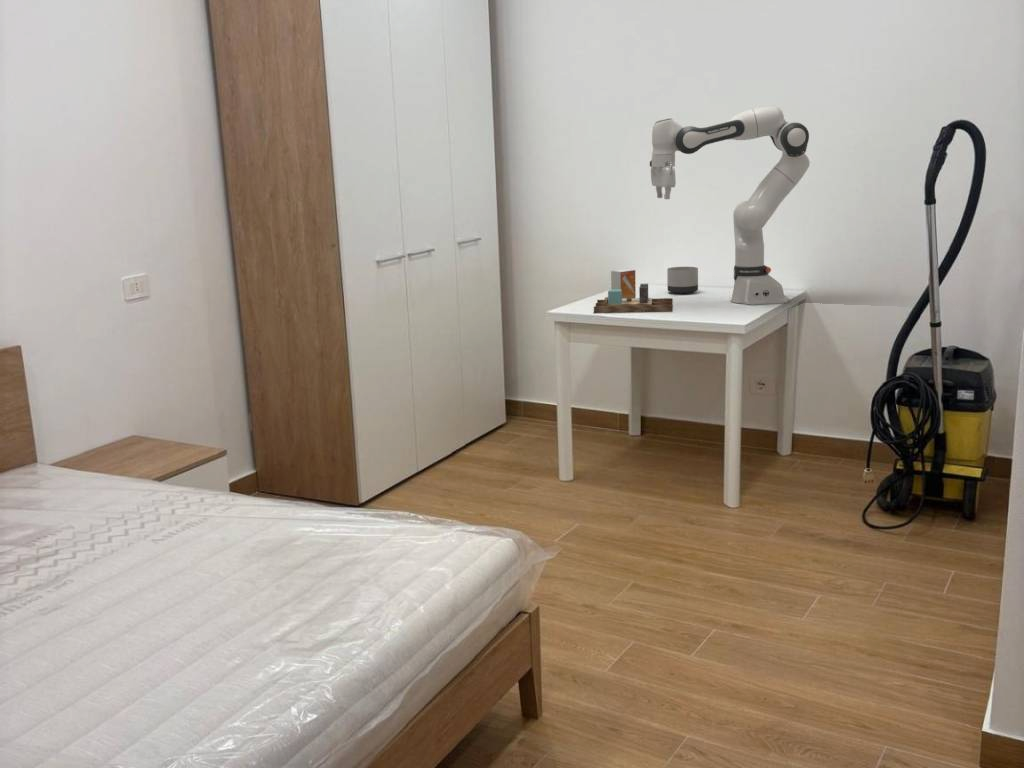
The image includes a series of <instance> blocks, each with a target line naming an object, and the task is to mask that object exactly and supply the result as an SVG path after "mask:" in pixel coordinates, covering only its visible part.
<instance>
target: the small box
mask: <svg viewBox="0 0 1024 768" xmlns="http://www.w3.org/2000/svg"><path fill="white" fill-rule="evenodd" d="M610 280H611V281H610V283H611V284H610V285H611V286H610V290H612V289H622V299H623V298H627V299H632V298H637V296H636V295H637V294H636V293H637V291H636V269H630V268H621V269H616V270H610Z"/></svg>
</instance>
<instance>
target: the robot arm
mask: <svg viewBox="0 0 1024 768" xmlns="http://www.w3.org/2000/svg"><path fill="white" fill-rule="evenodd" d="M763 137H770V140H771V141H772V144H773V145H774V146H775V147H776V149H778V150H779V151H781V152H782V154H781V158H780V159H779V161H778V162H777V163H776V164H775V165H774V166H773V167H772V168H771V170H770V171H769V172H768V173H767V175H766V176H764V177H763V179H762V180H761V182H759V184H758V186H757V187H756V189H755V190H754V192H753V193H752V194H751V196H750V197H749V198H748V199H747V200H745V201H741V202H739V203H738V205H736V207H735V208H734V211H733V235H734V246H735V249H734V251H735V252H734V253H735V256H734V259H735V260H734V261H735V262H734V266H733V280H734V282H733V290H732V296H731V299H730V301H731V302H732V303H737V304H744V305H753V306H754V305H768V304H769V305H770V304H786V303H789V302H790V298H789V296H788V295H785V294H784V288H783V285H782V284H781V283H780V282H779V281H778V280H776V278H774V277H772V276H771V275H770V273H771V271H772V268H771V267H768V266H767V265H765V244H764V243H765V242H764V235H763V228H764V227H765V226H766V224H767V223H768V221H769V220H770V219H771V217H772V216H773V215H774V213H775V212H776V211H777V209H778V208H779V206H780V205H781V203H782V202H783V201H784V200H785V198H787V196H788V195H789V194H790V193H791V191H792V190H793V189H794V188H795V187H796V186H797V185H798V184H799V182H800V181H801V179H802V178H803V177H804V176H805V174H806V173H807V171H808V169H809V167H810V163H811V162H810V159H809V157H808V156H807V154H806V152H807V148H808V144H809V139H810V132H809V130H808V128H807V127H806V126H805V125H804V124H802V123H800V122H793V121H790V122H789V121H786V119H785V115H784V113H783V111H782V110H781V108H780V107H778V106H775V105H770V106H759V107H754V108H750V109H746V110H744V111H741V112H738V113H737V114H733V116H732V117H730V118H729V119H727V120H726V121H725V122H721V123H718V124H714V125H710V126H706V127H696V126H693V125H691V126H686V125H684V124H681V123H679V122H677V121H675V120H674V118H666V119H661V120H658V121H655V123H654V124H653V126H652V132H651V144H652V152H651V160H650V161H649V167H650V181H651V185H652V187H655V190H656V198H657V199H662V198H664V200H670V198H671V191H672V188H675V187H676V169H675V167H676V152H681V153H682V154H686V155H691V154H695V153H696V152H698V151H699V150H700V149H702V148H703V147H705V146H706V145H707V146H708V145H710V144H714V143H718V142H722V141H726V140H733V141H748V140H750V141H751V140H754V139H758V138H763ZM663 188H664V190H665V191H664V194H663ZM663 195H664V196H663Z"/></svg>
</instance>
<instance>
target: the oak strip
mask: <svg viewBox="0 0 1024 768" xmlns="http://www.w3.org/2000/svg"><path fill="white" fill-rule="evenodd" d="M638 287H639V297H638V298H640V301H634V302H622V303H621V304H608V296H605V298H604V299H603V300H604V306H646V305H652V301H648V298H649V289H648V290H647V287H640V286H638Z"/></svg>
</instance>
